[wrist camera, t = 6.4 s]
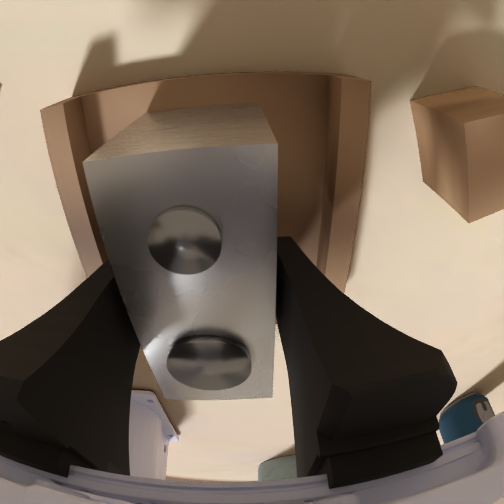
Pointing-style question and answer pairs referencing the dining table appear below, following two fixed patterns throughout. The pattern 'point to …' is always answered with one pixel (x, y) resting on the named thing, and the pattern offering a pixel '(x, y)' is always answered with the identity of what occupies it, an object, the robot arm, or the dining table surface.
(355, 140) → the stand
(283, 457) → the green embossed planter
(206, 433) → the dining table surface
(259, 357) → the block
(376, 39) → the dining table surface
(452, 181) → the walnut block
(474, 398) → the soda can
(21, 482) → the robot arm
